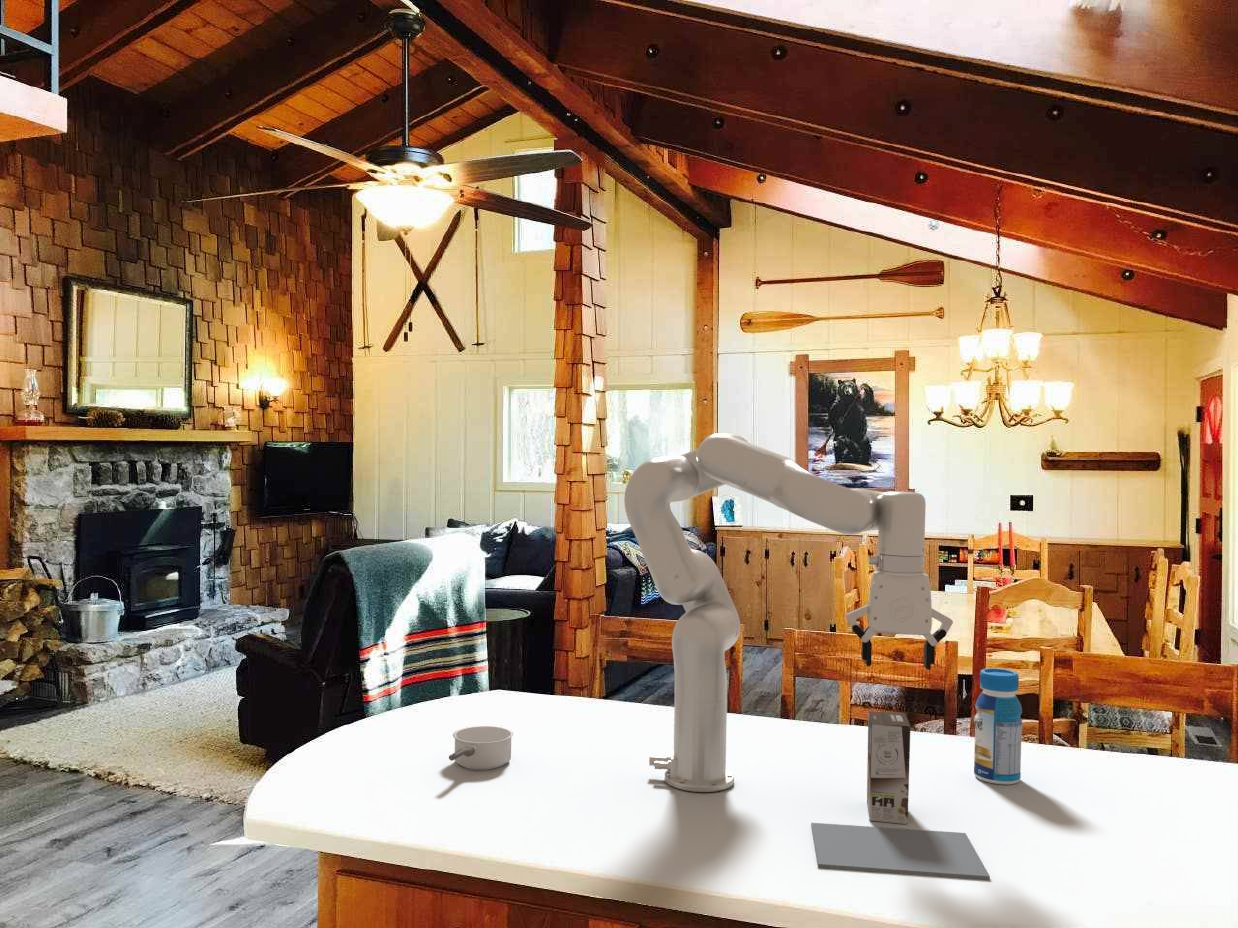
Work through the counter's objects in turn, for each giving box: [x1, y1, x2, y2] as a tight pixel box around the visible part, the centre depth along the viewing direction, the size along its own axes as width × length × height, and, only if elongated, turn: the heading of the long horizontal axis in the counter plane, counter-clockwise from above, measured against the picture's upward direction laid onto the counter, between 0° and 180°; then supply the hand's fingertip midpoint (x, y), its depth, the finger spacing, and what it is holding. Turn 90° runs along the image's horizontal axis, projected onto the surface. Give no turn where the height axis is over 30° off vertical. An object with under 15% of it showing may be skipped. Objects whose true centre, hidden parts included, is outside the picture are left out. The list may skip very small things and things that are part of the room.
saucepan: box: [448, 725, 514, 771], centre depth 183 cm, size 12×20×6 cm, turn 165°
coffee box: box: [866, 710, 911, 825], centre depth 164 cm, size 9×6×16 cm
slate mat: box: [810, 822, 991, 881], centre depth 148 cm, size 24×16×1 cm, turn 82°
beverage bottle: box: [973, 667, 1024, 786], centre depth 183 cm, size 8×8×20 cm
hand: (897, 666), depth 165 cm, fingers open, 9 cm apart
